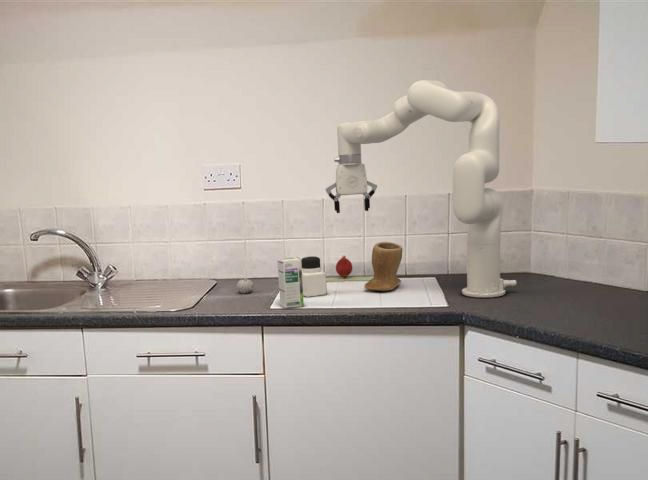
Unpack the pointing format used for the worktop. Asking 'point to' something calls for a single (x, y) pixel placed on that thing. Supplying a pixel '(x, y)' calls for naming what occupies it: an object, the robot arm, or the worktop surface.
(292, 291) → the syrup box
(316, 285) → the medicine bottle
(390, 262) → the stone cup
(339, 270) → the pomegranate
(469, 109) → the robot arm
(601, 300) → the worktop surface
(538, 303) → the worktop surface
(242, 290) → the garlic
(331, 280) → the edge strip
